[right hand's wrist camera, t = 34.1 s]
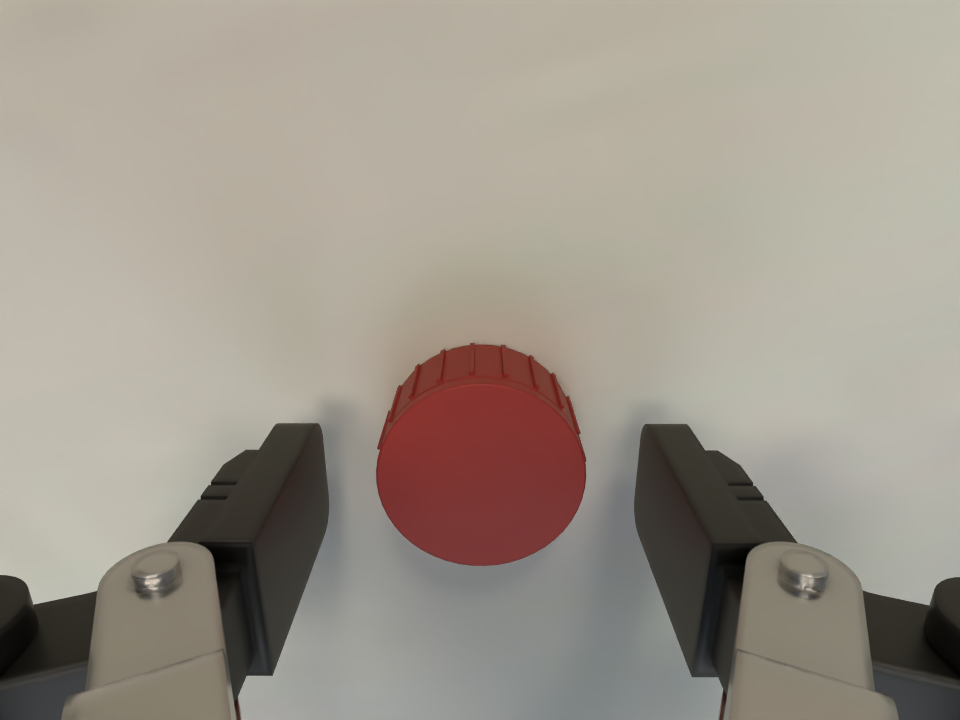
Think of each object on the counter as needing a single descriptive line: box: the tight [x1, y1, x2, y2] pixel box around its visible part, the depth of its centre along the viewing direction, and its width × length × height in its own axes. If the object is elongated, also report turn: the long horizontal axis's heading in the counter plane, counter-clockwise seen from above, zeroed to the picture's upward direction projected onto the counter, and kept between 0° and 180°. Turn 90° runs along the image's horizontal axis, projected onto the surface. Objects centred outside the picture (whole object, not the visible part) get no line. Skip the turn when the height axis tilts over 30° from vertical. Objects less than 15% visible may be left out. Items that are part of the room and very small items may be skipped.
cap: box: [376, 343, 586, 566], centre depth 13 cm, size 4×4×2 cm
